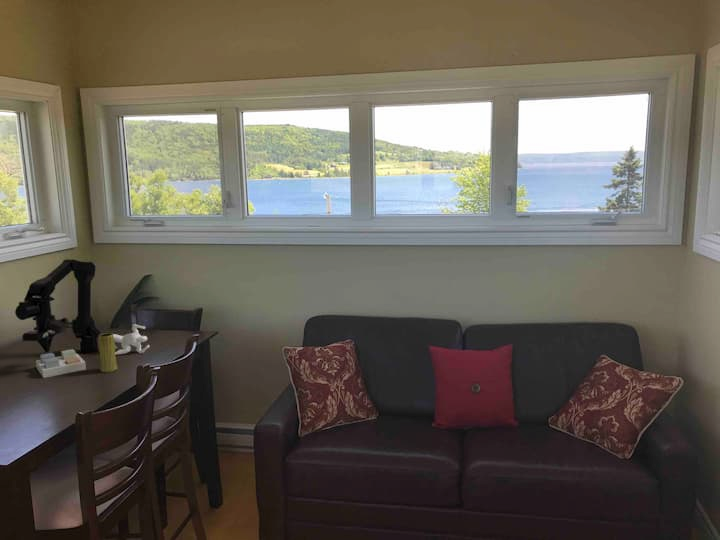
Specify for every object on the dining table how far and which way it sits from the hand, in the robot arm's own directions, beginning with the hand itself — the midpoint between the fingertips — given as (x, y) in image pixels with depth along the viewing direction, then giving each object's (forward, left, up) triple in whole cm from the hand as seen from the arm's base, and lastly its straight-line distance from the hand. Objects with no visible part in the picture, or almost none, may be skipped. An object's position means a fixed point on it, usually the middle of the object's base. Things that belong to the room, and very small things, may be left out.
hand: (47, 351), depth 224 cm
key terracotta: (-7, +8, -6) cm, 12 cm away
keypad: (-4, +4, -7) cm, 9 cm away
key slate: (0, 0, -4) cm, 4 cm away
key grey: (0, +8, -4) cm, 9 cm away
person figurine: (-31, -1, -7) cm, 32 cm away
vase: (-18, +18, -7) cm, 26 cm away
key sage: (-7, 0, -4) cm, 8 cm away
